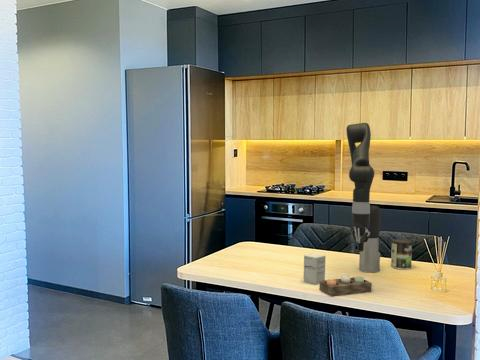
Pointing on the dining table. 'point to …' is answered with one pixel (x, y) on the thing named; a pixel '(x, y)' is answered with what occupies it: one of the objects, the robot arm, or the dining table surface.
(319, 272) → the supplement box
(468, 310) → the dining table surface
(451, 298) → the dining table surface
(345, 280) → the cream pill shape
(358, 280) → the sage button
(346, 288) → the frame
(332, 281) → the terracotta button
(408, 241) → the coffee can
